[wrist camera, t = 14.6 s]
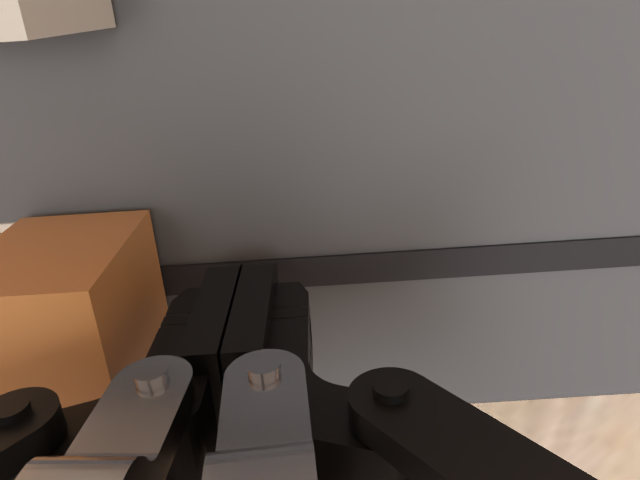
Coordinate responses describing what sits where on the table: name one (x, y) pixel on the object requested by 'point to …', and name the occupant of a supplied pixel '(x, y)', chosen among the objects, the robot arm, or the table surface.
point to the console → (366, 171)
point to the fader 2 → (77, 301)
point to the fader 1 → (52, 18)
